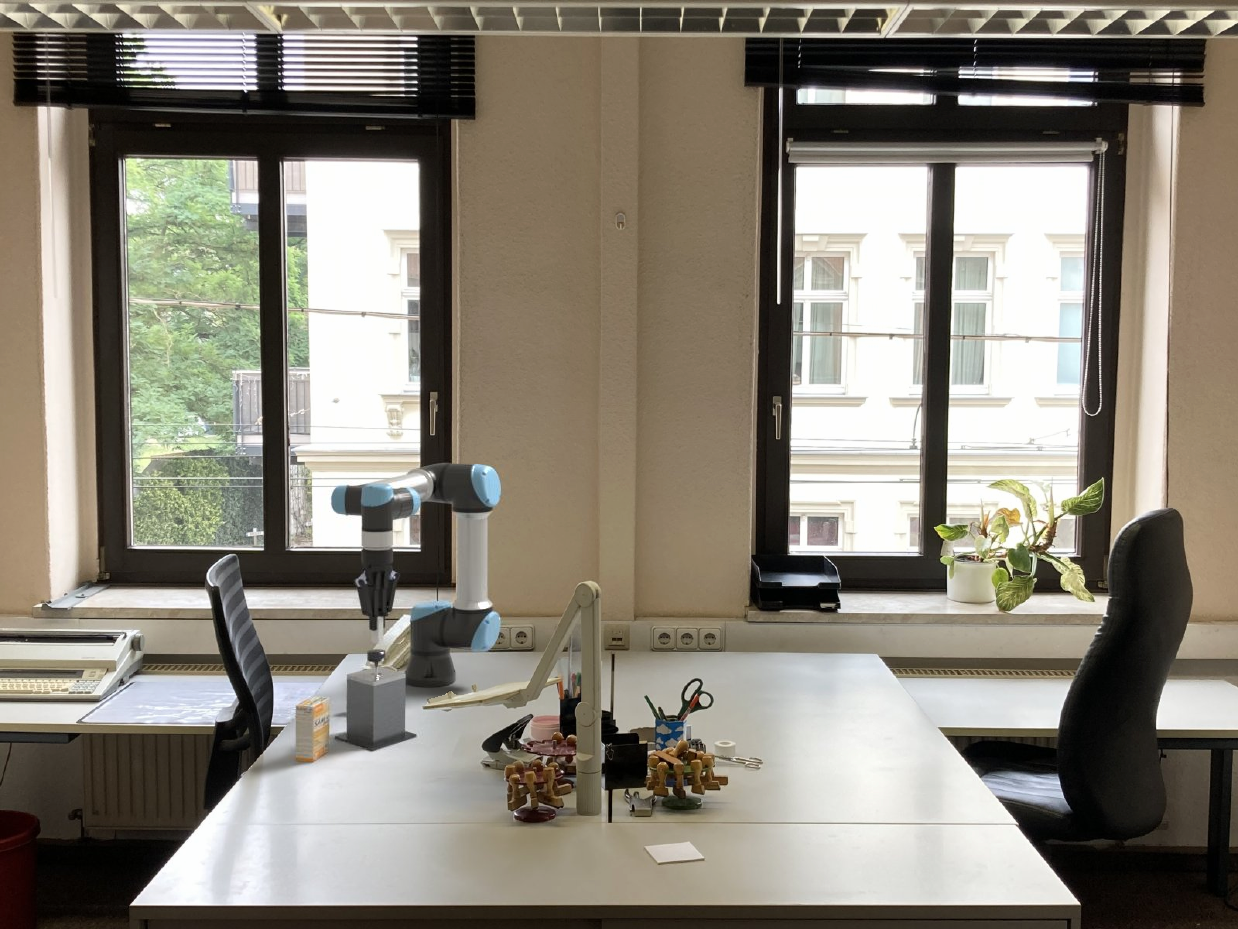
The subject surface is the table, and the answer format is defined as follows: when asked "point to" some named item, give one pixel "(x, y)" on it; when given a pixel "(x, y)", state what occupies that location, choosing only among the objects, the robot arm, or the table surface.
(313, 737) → the supplement box
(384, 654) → the plunger
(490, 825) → the table surface
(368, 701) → the block
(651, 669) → the table surface
